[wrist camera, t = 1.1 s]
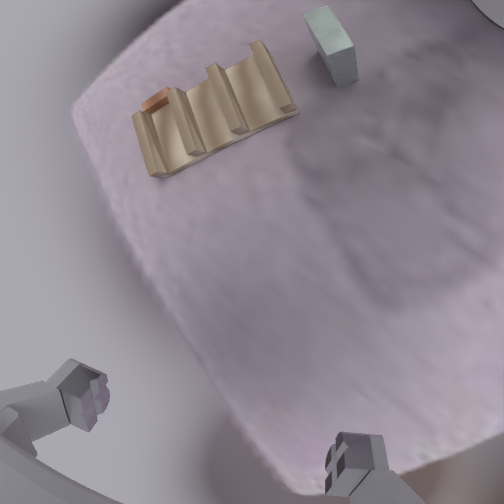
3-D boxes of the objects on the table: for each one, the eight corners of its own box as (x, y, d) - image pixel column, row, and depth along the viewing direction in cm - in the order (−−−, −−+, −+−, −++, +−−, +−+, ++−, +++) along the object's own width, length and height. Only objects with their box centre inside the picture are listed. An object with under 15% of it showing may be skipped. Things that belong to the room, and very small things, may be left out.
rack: (266, 46, 37) (255, 31, 33) (299, 113, 38) (291, 103, 34) (147, 113, 45) (129, 108, 41) (167, 177, 46) (149, 176, 41)
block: (338, 43, 34) (327, 4, 25) (358, 80, 34) (354, 45, 25) (318, 51, 35) (301, 14, 26) (337, 88, 36) (326, 55, 26)
